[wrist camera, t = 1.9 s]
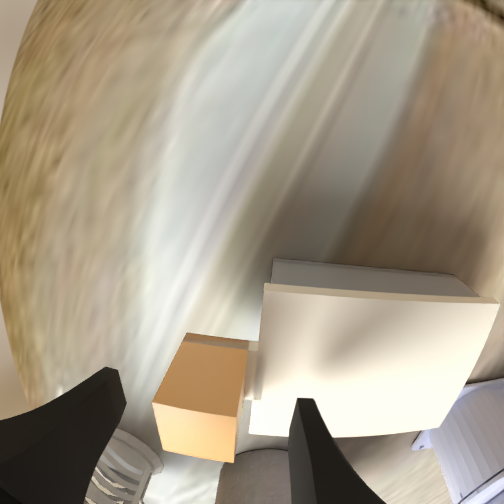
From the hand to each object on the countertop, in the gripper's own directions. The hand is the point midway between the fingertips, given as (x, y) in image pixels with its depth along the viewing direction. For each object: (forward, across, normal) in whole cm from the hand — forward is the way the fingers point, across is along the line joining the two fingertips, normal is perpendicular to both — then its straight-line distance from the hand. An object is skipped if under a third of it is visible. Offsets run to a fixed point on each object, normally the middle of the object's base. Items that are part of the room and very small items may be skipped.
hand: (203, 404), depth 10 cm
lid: (+3, -6, 0) cm, 7 cm away
